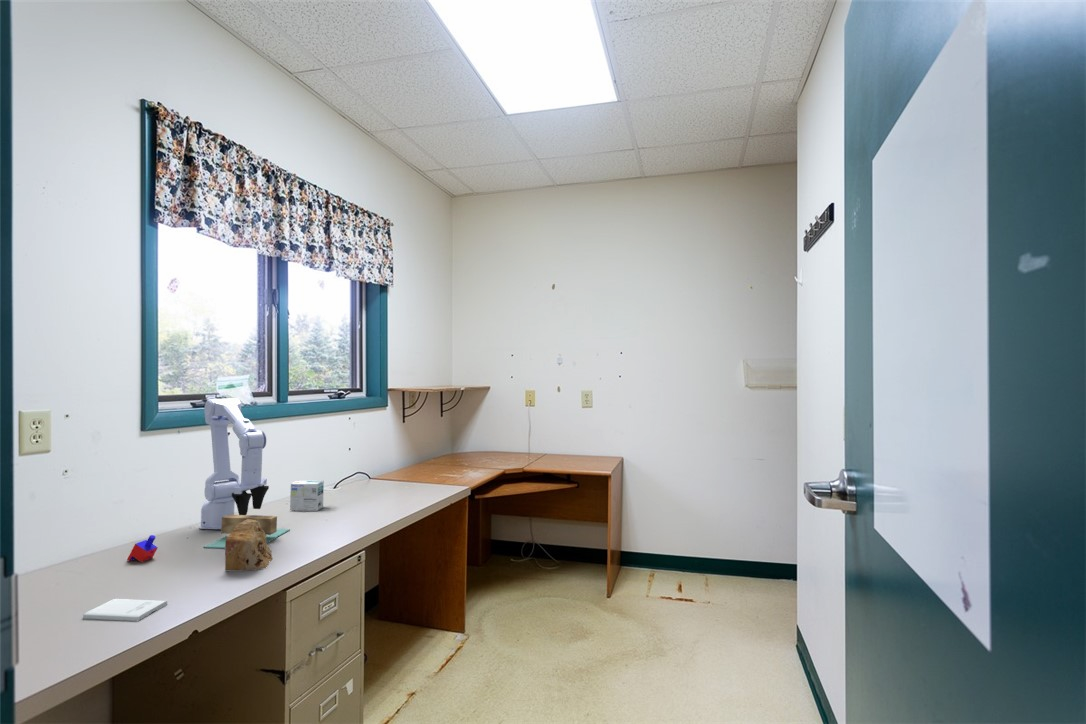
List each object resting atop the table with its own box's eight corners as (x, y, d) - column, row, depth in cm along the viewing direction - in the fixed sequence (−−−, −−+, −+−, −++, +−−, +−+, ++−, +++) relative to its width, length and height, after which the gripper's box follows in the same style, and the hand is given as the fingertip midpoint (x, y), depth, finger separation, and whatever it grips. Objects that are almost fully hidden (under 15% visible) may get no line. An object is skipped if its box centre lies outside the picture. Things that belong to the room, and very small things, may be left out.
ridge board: (203, 548, 159) (203, 541, 159) (243, 528, 179) (243, 523, 179) (255, 549, 158) (255, 543, 158) (289, 530, 178) (289, 524, 178)
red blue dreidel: (138, 567, 146) (151, 542, 146) (126, 559, 147) (139, 534, 147) (149, 563, 150) (162, 538, 150) (138, 555, 150) (150, 531, 150)
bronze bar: (221, 533, 167) (221, 517, 167) (228, 530, 171) (228, 514, 171) (270, 534, 167) (271, 518, 167) (276, 531, 170) (277, 516, 170)
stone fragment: (259, 572, 154) (232, 529, 155) (290, 551, 155) (263, 509, 156) (233, 589, 140) (203, 542, 141) (267, 567, 141) (237, 520, 142)
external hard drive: (115, 604, 121) (167, 606, 120) (82, 621, 113) (138, 623, 112) (115, 597, 121) (167, 599, 120) (82, 613, 113) (138, 615, 112)
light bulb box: (323, 507, 210) (324, 480, 210) (317, 511, 203) (318, 483, 204) (296, 507, 210) (297, 479, 210) (289, 511, 203) (290, 483, 203)
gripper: (250, 473, 162) (248, 518, 161) (276, 465, 176) (274, 506, 176) (228, 473, 162) (226, 517, 162) (255, 465, 177) (254, 505, 176)
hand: (250, 511), depth 169 cm, fingers open, 7 cm apart
